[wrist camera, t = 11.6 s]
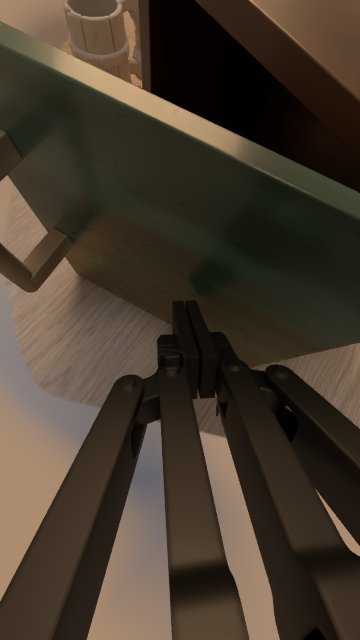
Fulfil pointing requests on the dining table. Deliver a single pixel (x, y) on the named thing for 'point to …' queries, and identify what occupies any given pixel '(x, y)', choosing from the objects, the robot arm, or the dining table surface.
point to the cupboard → (263, 73)
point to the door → (175, 208)
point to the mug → (104, 35)
